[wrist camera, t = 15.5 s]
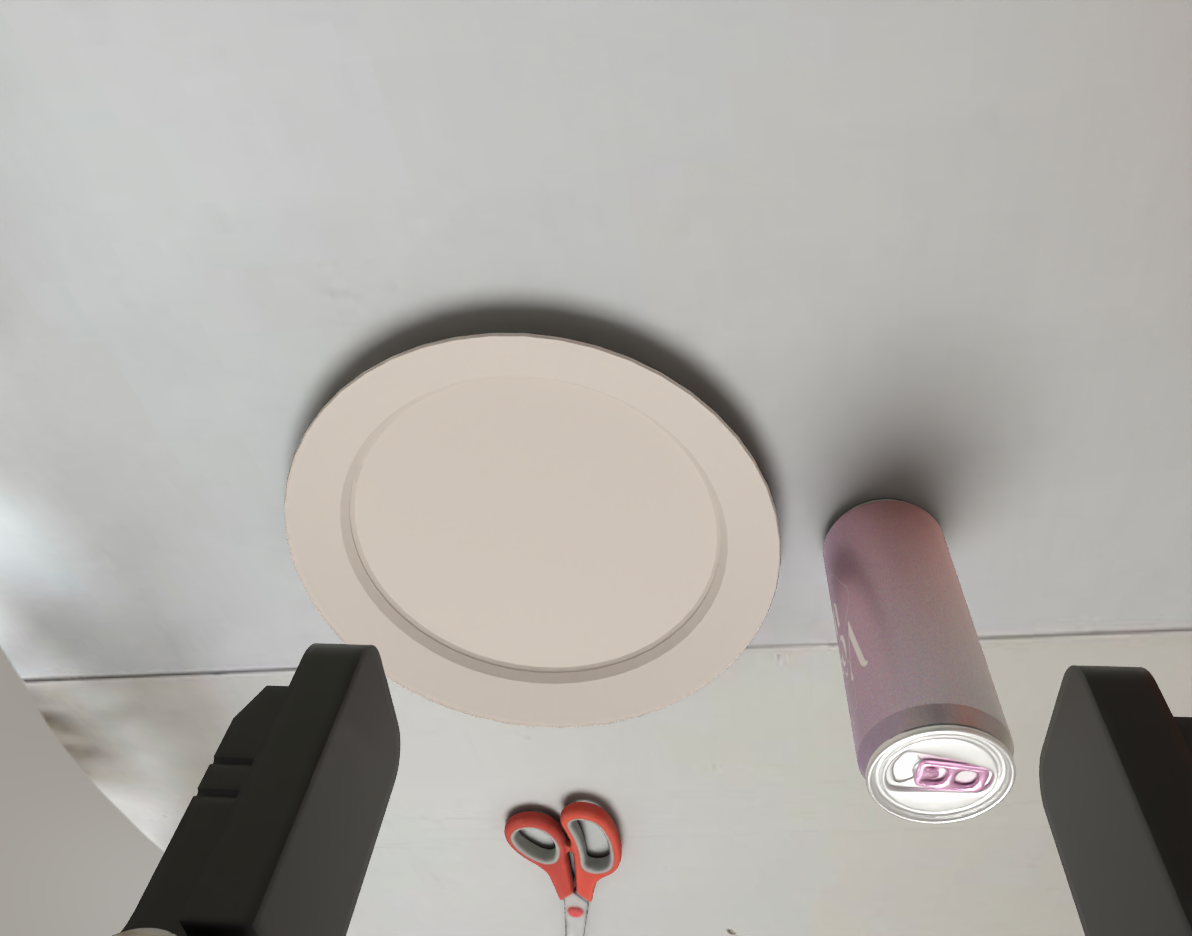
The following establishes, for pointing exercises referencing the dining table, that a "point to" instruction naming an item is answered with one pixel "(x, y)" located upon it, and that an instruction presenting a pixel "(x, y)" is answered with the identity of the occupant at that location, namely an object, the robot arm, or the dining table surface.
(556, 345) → the plate
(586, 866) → the scissors
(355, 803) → the robot arm
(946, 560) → the beverage can
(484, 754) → the dining table surface
